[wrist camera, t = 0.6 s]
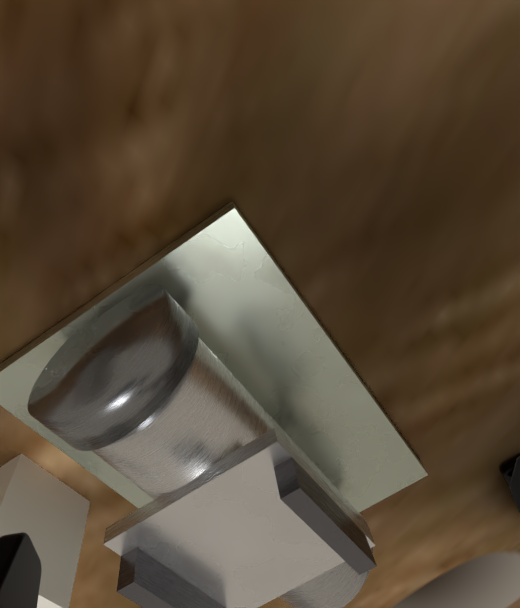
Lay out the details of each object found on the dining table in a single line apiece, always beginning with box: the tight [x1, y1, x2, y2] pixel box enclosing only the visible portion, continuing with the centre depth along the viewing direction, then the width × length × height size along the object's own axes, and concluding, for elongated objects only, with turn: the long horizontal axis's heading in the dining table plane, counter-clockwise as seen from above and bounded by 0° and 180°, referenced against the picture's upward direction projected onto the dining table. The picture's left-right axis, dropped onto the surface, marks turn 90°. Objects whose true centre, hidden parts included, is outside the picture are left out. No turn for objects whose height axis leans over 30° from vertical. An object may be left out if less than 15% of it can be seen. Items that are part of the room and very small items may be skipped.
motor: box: [0, 201, 428, 608], centre depth 22 cm, size 20×14×8 cm
